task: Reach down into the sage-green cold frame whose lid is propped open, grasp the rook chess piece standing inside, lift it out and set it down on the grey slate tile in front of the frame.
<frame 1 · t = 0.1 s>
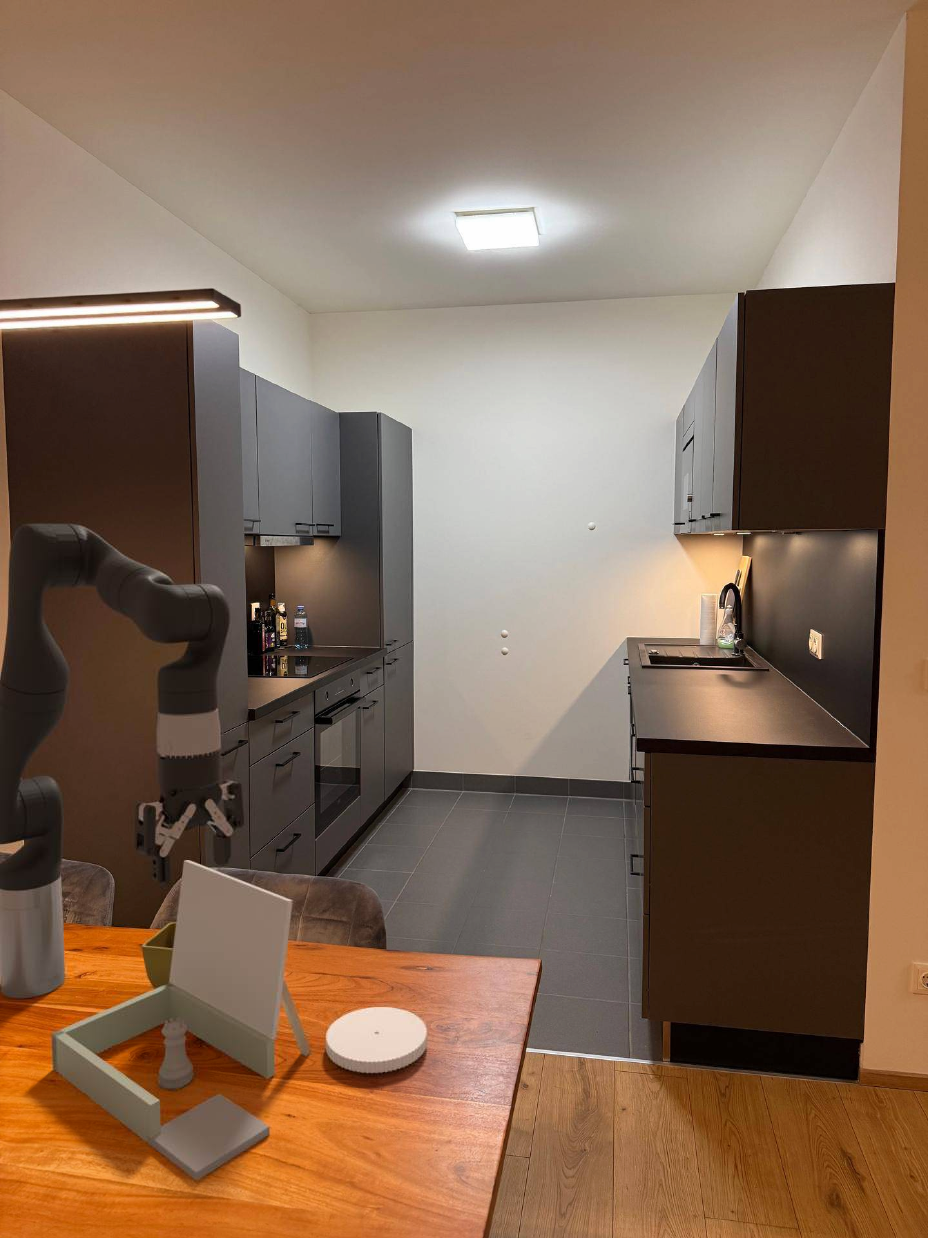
hand: (192, 874, 111), 29 cm above the table, tool pointing down, fingers open, 8 cm apart
cold frame: (163, 1072, 118), on the table
slate tile: (208, 1138, 105), on the table
lid propped: (219, 1008, 124), resting on cold frame
rook chess piece: (176, 1082, 116), on the table
plastic lid: (376, 1051, 124), on the table
flower pot: (182, 992, 140), on the table
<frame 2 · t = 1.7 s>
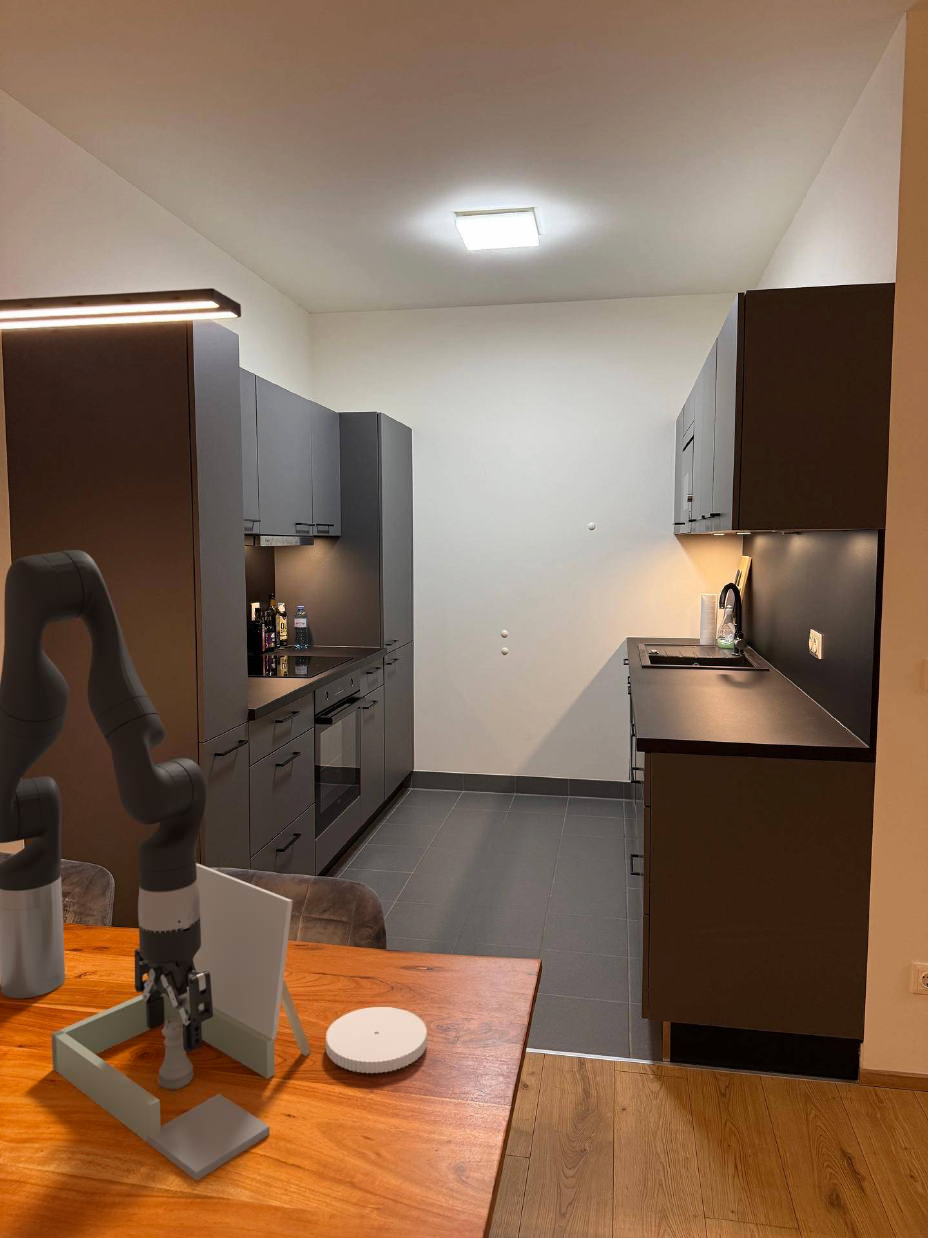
hand: (173, 1037, 115), 6 cm above the table, tool pointing down, fingers open, 8 cm apart
nothing on the table moved.
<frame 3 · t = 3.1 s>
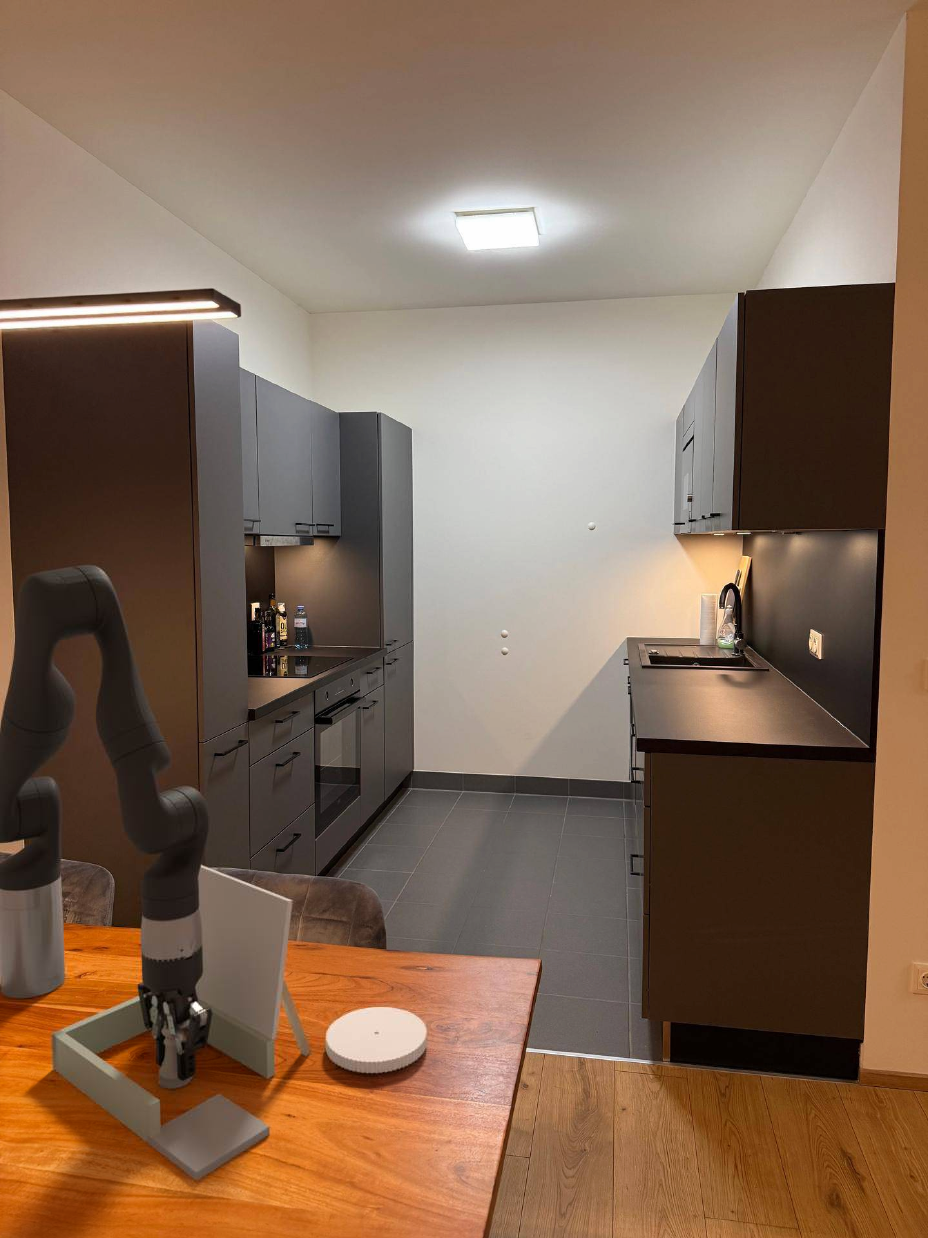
hand: (175, 1069, 116), 2 cm above the table, tool pointing down, fingers closed on rook chess piece, 4 cm apart
rook chess piece: (176, 1082, 116), on the table, touching gripper
everything else where it was.
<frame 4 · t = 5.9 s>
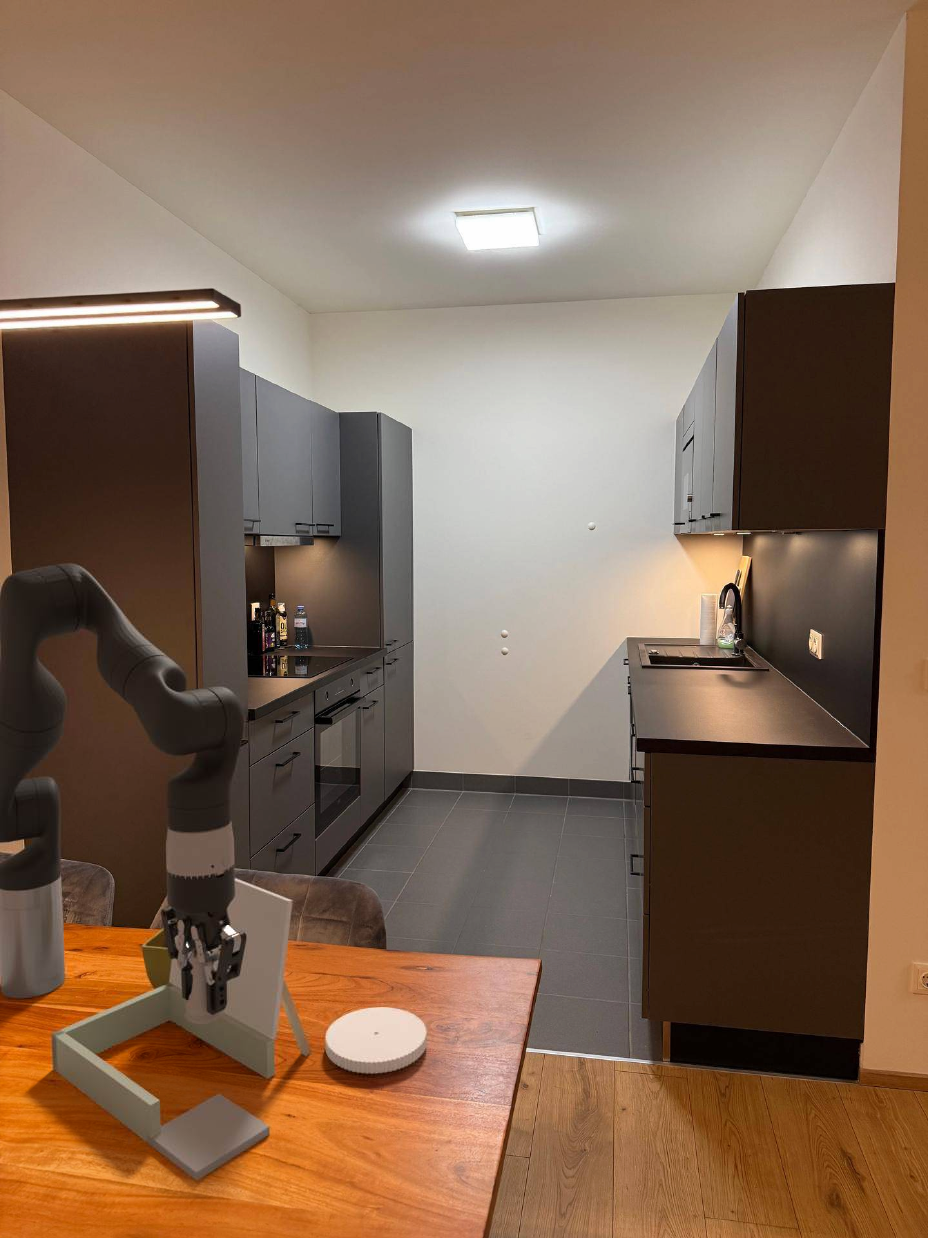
hand: (204, 1003, 103), 17 cm above the table, tool pointing down, fingers closed on rook chess piece, 4 cm apart
rook chess piece: (204, 1017, 104), point 15 cm above the table, touching gripper
everything else where it was.
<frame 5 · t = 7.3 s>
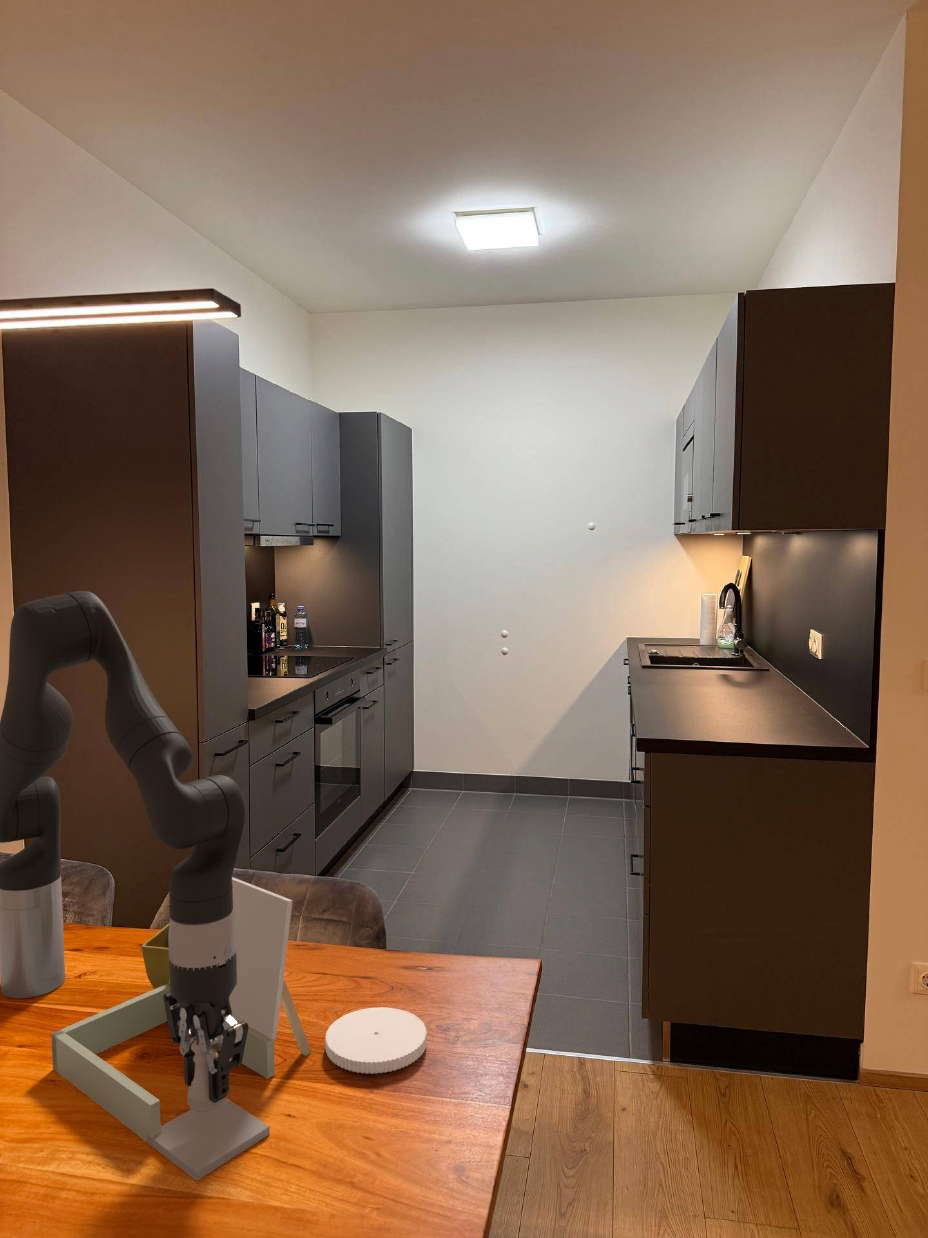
hand: (206, 1090, 104), 6 cm above the table, tool pointing down, fingers closed on rook chess piece, 4 cm apart
rook chess piece: (206, 1103, 104), point 4 cm above the table, touching gripper
everything else where it was.
when the fingers open (4 cm above the table, at t = 8.5 s): rook chess piece drops 1 cm, resting on slate tile.
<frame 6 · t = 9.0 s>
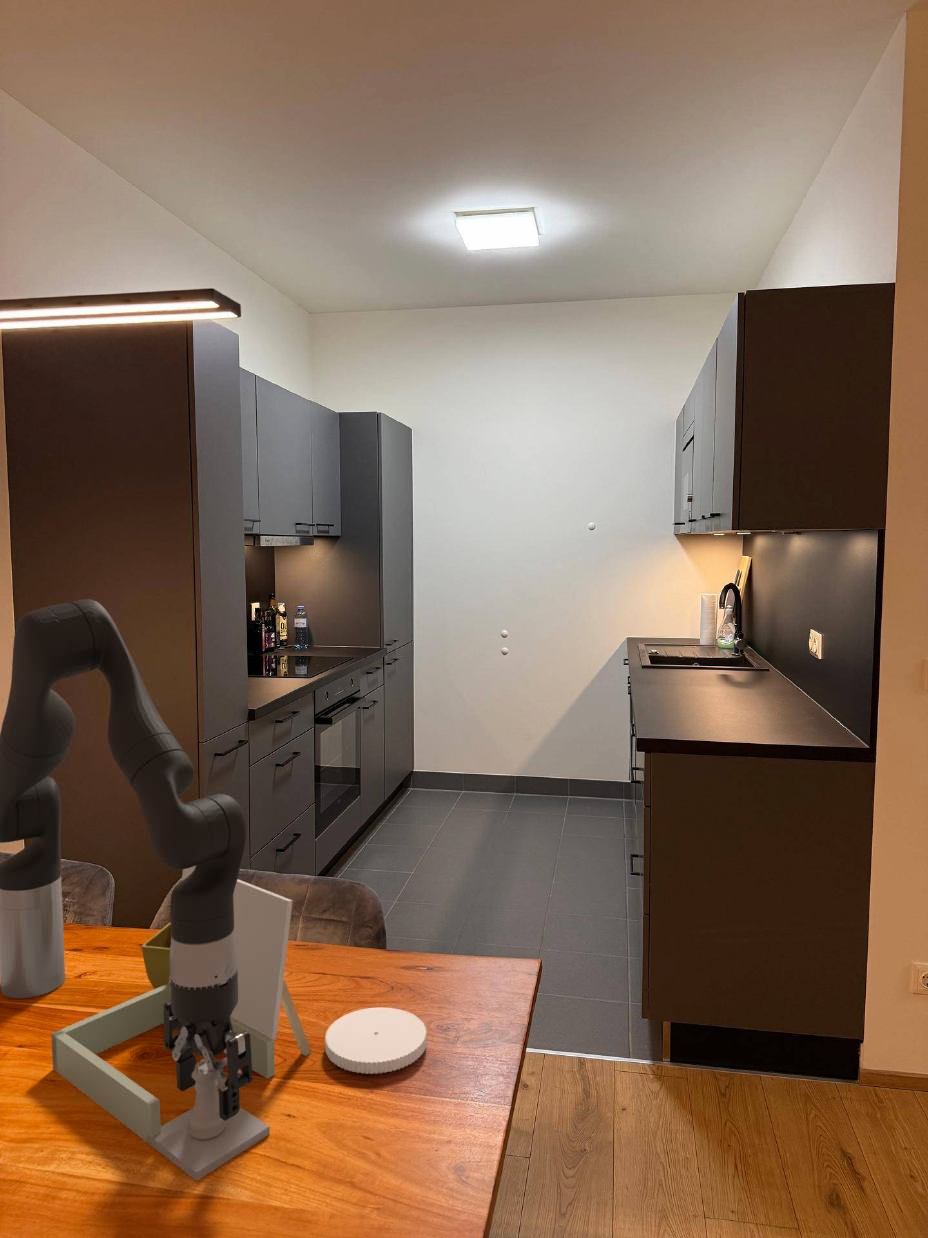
hand: (207, 1101, 104), 5 cm above the table, tool pointing down, fingers open, 8 cm apart
rook chess piece: (207, 1131, 105), point 1 cm above the table, touching slate tile
everything else where it was.
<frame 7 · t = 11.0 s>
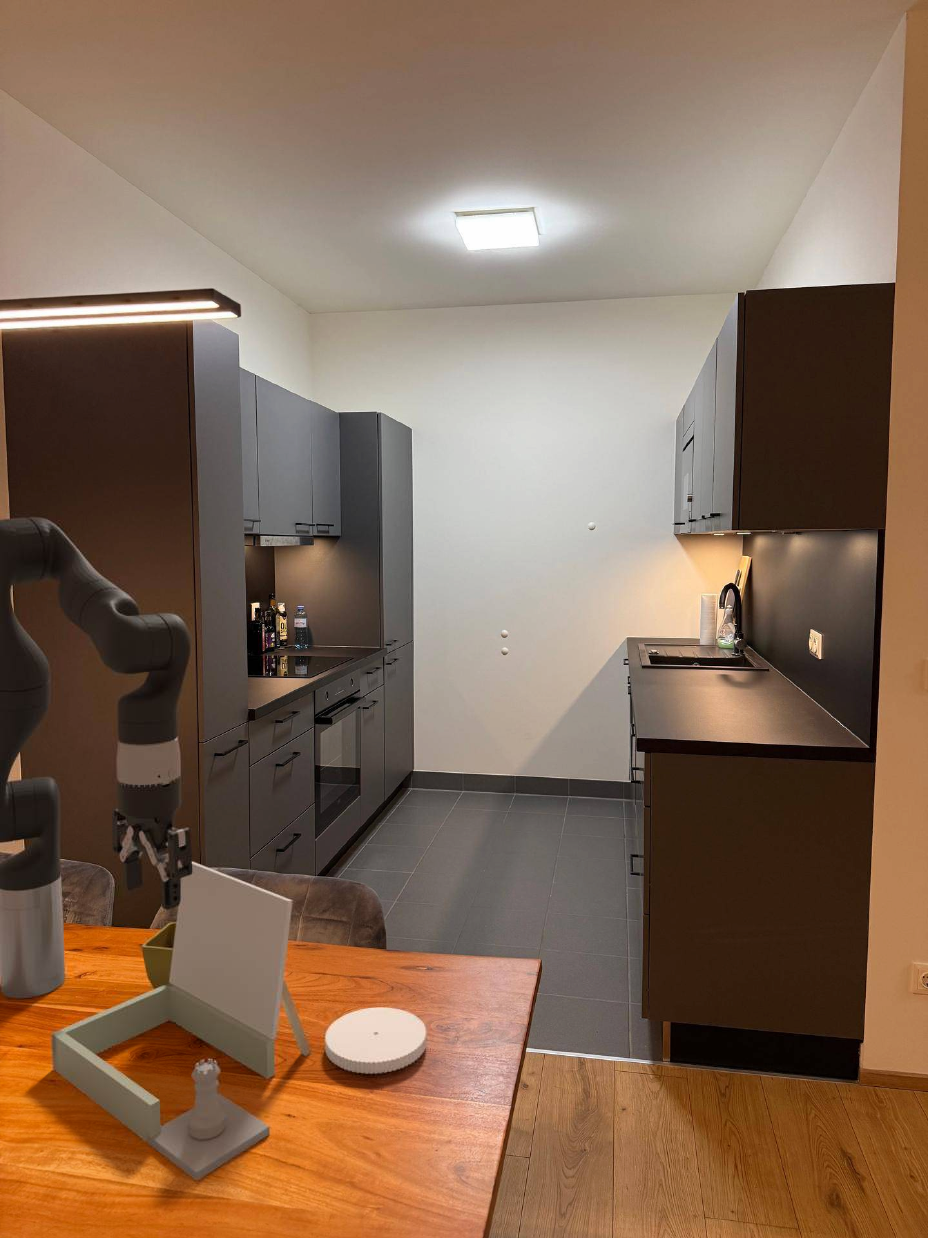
hand: (151, 897, 113), 25 cm above the table, tool pointing down, fingers open, 8 cm apart
nothing on the table moved.
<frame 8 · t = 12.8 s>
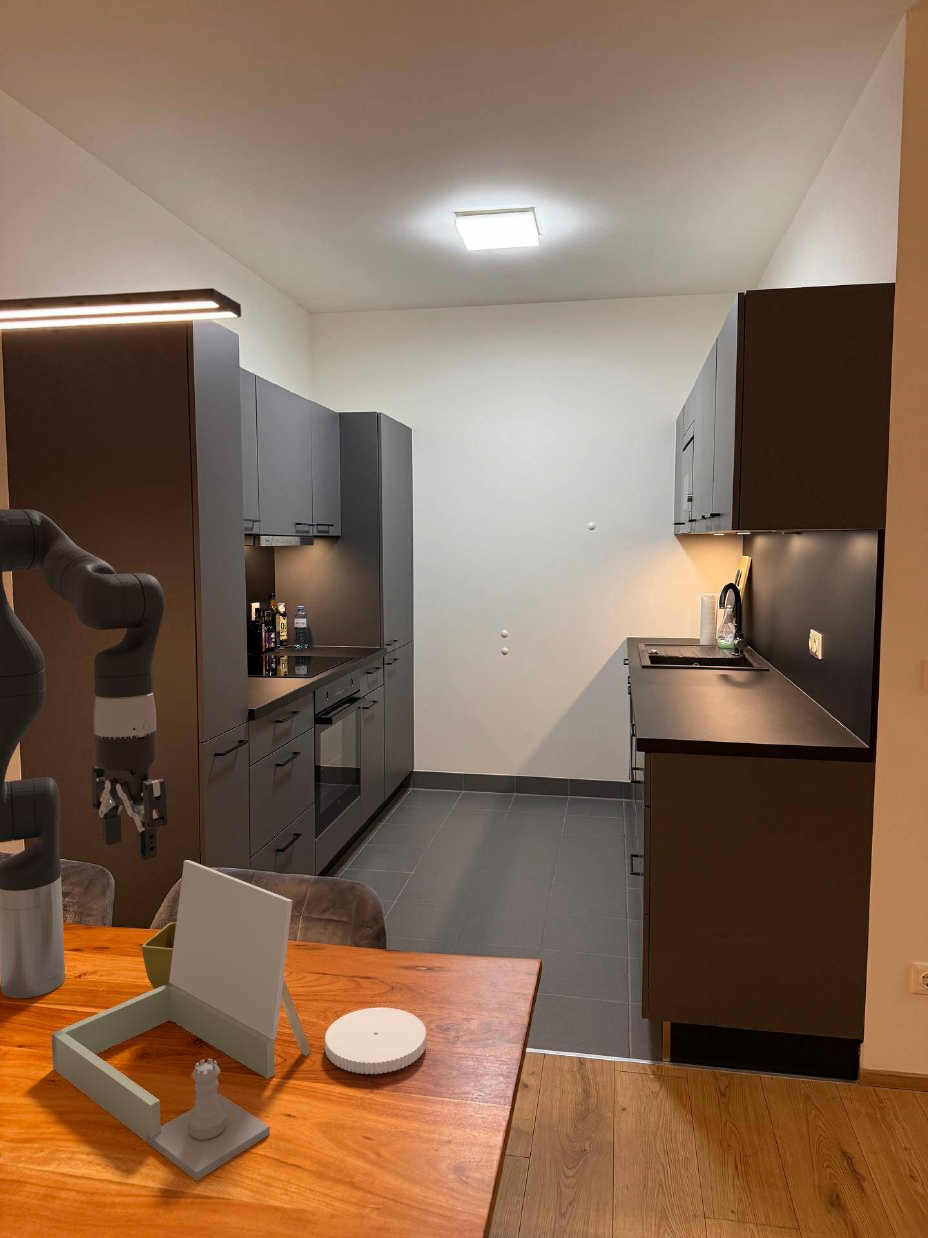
hand: (129, 850, 116), 30 cm above the table, tool pointing down, fingers open, 8 cm apart
nothing on the table moved.
at the end: rook chess piece inside the target area (0.2 cm from its centre), point 0.8 cm above the table; rook chess piece tilted 0°; the gripper is holding nothing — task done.
